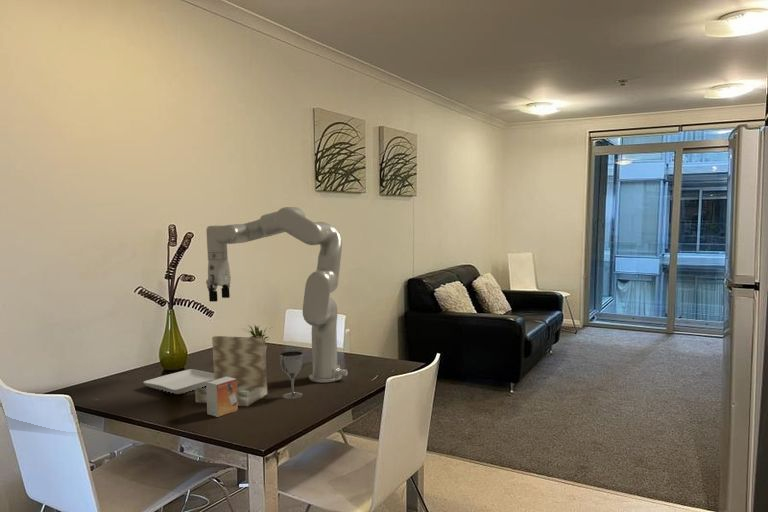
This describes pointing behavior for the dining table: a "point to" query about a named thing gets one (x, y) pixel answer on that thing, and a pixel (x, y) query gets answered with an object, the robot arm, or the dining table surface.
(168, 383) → the salad plate
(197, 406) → the dining table surface
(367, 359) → the dining table surface
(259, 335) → the house plant
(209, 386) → the small box
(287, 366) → the wine glass
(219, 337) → the wavy patterned display stand
